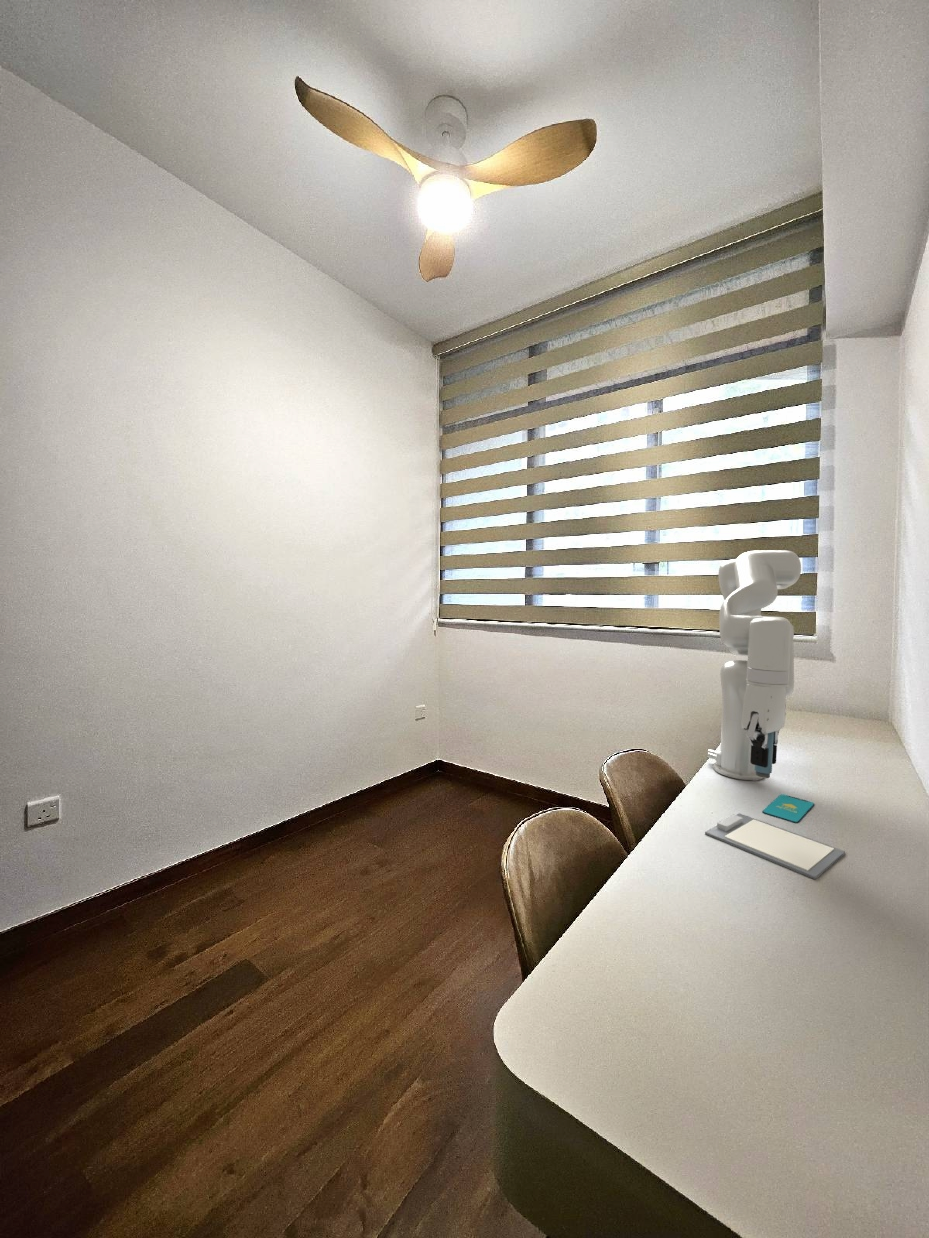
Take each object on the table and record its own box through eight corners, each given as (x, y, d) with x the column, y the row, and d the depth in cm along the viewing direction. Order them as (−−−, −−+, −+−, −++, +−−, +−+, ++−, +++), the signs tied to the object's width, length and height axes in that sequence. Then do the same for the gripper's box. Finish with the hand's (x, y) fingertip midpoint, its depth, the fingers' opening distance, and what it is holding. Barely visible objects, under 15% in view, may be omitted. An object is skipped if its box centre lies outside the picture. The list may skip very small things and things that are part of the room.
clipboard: (704, 833, 105) (705, 827, 105) (739, 815, 114) (739, 808, 114) (815, 879, 89) (815, 871, 89) (844, 853, 98) (845, 846, 98)
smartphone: (761, 810, 115) (781, 792, 126) (760, 814, 116) (780, 795, 126) (797, 822, 110) (815, 802, 120) (797, 826, 110) (815, 806, 120)
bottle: (751, 774, 106) (753, 723, 105) (758, 771, 108) (760, 721, 107) (767, 779, 103) (770, 726, 103) (774, 776, 105) (776, 724, 105)
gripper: (765, 671, 112) (761, 752, 113) (729, 678, 103) (725, 766, 104) (803, 676, 106) (799, 761, 107) (769, 683, 97) (764, 777, 98)
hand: (763, 762), depth 105 cm, fingers closed on bottle, 3 cm apart
